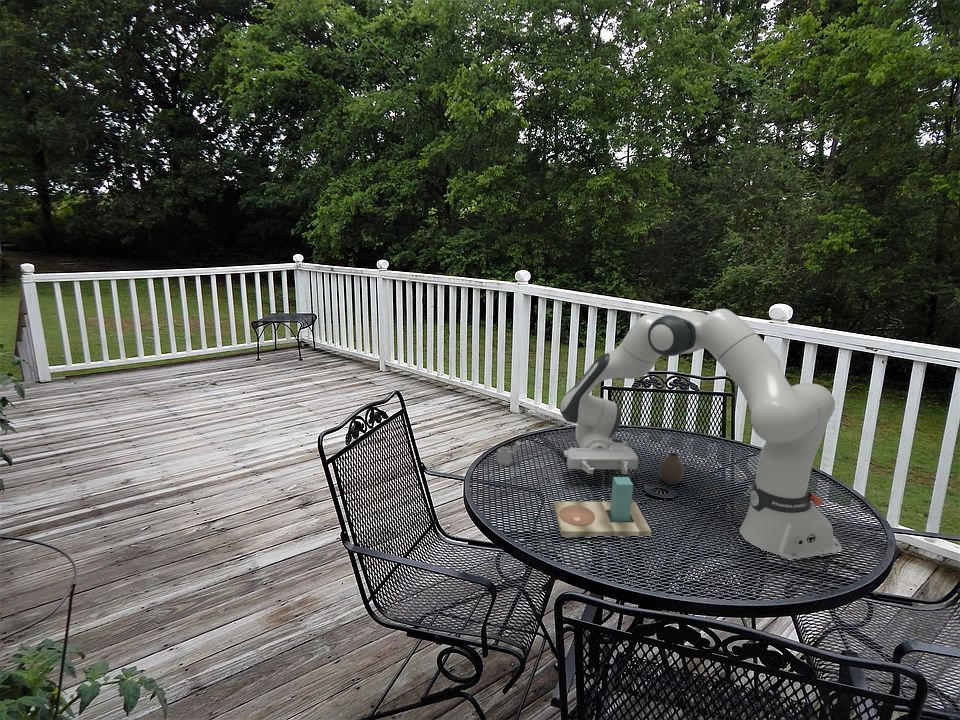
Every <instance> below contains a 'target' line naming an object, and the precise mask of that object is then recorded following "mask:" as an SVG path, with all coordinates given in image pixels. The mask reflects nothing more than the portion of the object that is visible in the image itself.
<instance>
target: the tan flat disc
mask: <svg viewBox="0 0 960 720" xmlns="http://www.w3.org/2000/svg"><path fill="white" fill-rule="evenodd" d="M559 516H560V518H561V519H562V520H563V521H565V522H566V523H569V524H572V525H577V526H584V525H589V524H591V523H592V522H593V521H594V520H595V515H594V513H593V512H592V511H591V510H589V509H587V508H585V507H582V506H567V507H564V508H562V509H561V510H560V512H559Z"/></svg>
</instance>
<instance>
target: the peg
mask: <svg viewBox="0 0 960 720" xmlns="http://www.w3.org/2000/svg"><path fill="white" fill-rule="evenodd" d="M611 486H612V487H611V496H610V497H611V498H610V502H611V507H610V516H609V518H610V520H611V521H612V522H630V512H631V502H633V501H632V500H633V490H634V483H633V482H632V481H631V478H630V477H629V476H613V478H612V485H611Z"/></svg>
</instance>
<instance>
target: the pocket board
mask: <svg viewBox="0 0 960 720" xmlns="http://www.w3.org/2000/svg"><path fill="white" fill-rule="evenodd" d="M552 505H553V506H552V509H553V512H554V516H556V517H555V520H556V524H557V523H558V524H557V526H559V528H558V530H560V531H559V534H560V533H561V535H560V537H561V536H562V537H575V536H576V537H577V536H578V537H591V536H592V537H593V536H620V537H621V536H622V537H628V536H629V537H630V536H651V537H652V529H651V528H650V526H649V524H648V522H647V521H646V519H645V518H644V516H643V514H642V512H641V510H640V508H639V506H638V504H637V503H636V501H632V502H631V512H630V520H631V522H630V521H629V522H611V521H610V519H609V518H610V516H608V515H610V507H611V501H553V504H552ZM567 506H582V507H585V508H587V509H589V510H591V511H592V512H593V513H594V515H595V520H594V521H593V522H592V523H591V524H589V525H584V526H577V525H572V524H569V523H566V522H565V521H563V520H562V519H561V518H560V516H559V512H560V510H561V509H562V508H564V507H567Z"/></svg>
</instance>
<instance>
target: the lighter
mask: <svg viewBox="0 0 960 720" xmlns="http://www.w3.org/2000/svg"><path fill="white" fill-rule="evenodd" d="M521 444H522V442H521V441H520V440H517V441H516V443H514V446H513V447H512V449H511V450H510V449H509V448H508V447H507V446H502V447H500V448H498V449H497V453H496V454H497V457H496V459H497V460H496V464H499V465H506V466H510V465H511V464H512V455H514V456H515V454H516V453H517V451H518V449H519V447H520V445H521Z"/></svg>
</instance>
